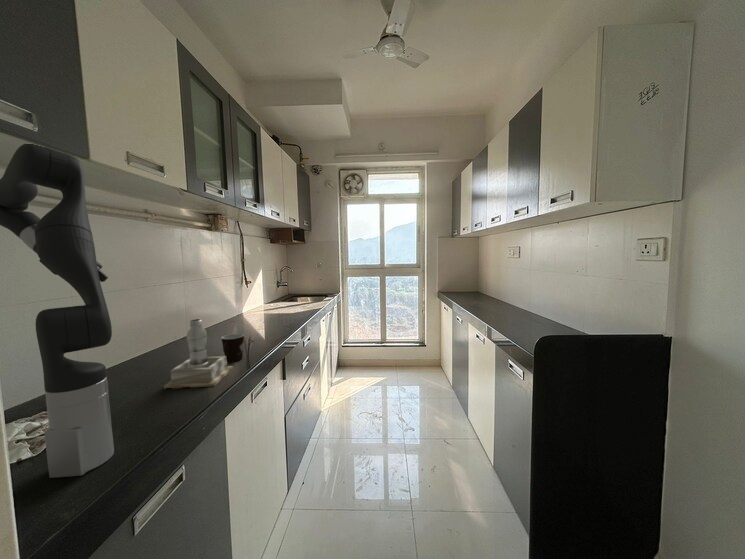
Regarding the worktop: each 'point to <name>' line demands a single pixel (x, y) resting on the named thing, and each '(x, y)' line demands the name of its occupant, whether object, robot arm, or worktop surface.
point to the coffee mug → (233, 347)
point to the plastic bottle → (197, 345)
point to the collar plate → (199, 374)
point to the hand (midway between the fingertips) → (93, 280)
